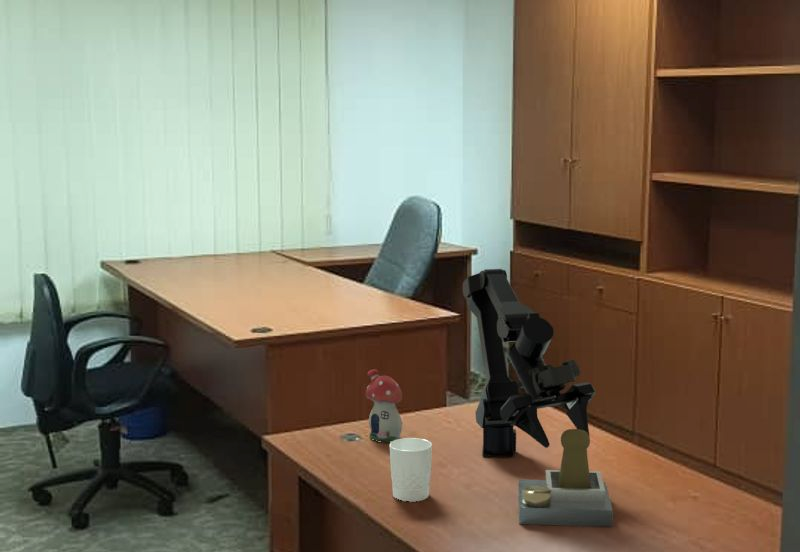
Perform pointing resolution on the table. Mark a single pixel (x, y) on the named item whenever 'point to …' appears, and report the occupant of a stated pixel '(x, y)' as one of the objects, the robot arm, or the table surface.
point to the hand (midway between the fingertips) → (567, 442)
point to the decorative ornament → (384, 407)
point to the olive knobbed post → (574, 460)
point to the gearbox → (564, 502)
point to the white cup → (410, 468)
